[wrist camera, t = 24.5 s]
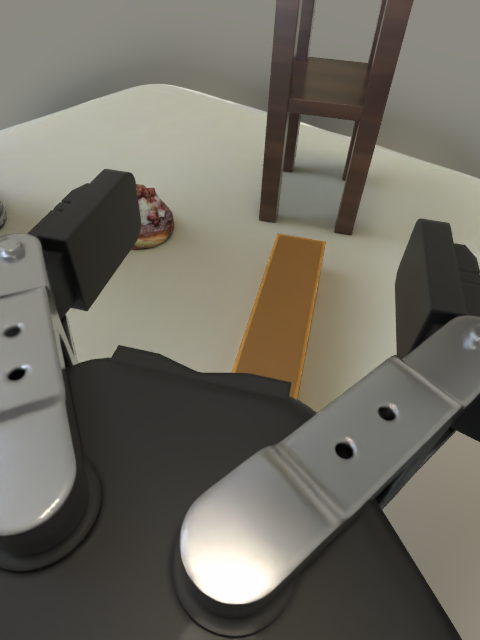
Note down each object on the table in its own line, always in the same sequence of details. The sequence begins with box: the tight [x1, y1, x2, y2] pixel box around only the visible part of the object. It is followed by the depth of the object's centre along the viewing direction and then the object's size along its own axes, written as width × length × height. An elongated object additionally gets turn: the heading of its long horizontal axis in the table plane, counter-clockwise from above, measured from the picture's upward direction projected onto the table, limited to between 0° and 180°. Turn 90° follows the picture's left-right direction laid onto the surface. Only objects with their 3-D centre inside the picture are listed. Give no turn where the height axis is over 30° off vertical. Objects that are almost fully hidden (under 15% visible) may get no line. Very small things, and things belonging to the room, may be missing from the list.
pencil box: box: [232, 234, 326, 399], centre depth 33 cm, size 22×4×3 cm, turn 166°
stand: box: [259, 0, 413, 235], centre depth 39 cm, size 14×10×32 cm
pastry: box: [132, 184, 174, 249], centre depth 43 cm, size 8×8×5 cm
